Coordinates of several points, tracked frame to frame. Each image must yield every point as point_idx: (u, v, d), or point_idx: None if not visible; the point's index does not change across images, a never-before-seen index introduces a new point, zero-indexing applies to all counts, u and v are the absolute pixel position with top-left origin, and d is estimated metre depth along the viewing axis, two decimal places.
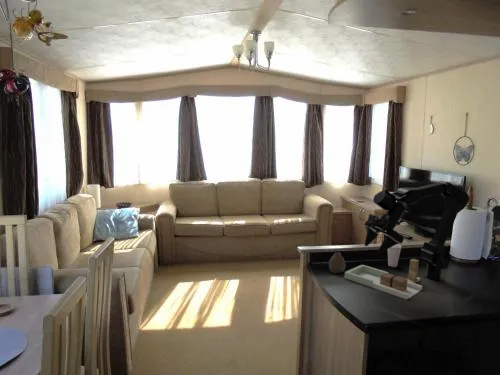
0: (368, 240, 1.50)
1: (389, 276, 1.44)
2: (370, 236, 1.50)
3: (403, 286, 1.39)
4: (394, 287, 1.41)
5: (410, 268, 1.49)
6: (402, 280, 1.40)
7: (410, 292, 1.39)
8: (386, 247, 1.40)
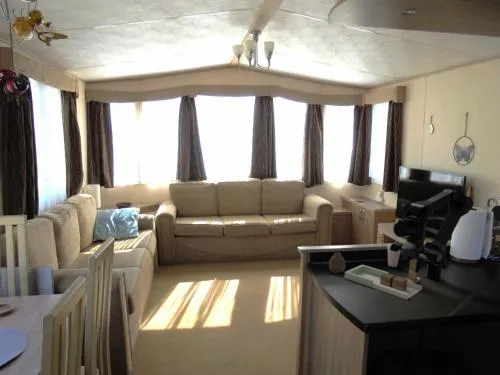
0: None
1: (389, 276, 1.44)
2: (409, 260, 1.50)
3: (403, 286, 1.39)
4: (394, 287, 1.41)
5: (410, 268, 1.49)
6: (402, 280, 1.40)
7: (410, 292, 1.39)
8: (421, 265, 1.48)
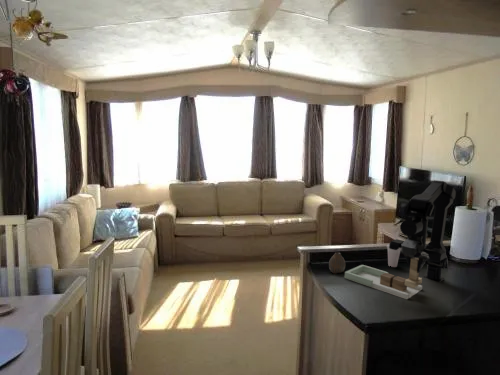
0: None
1: (389, 276, 1.44)
2: (410, 258, 1.38)
3: (403, 286, 1.39)
4: (394, 287, 1.41)
5: (411, 267, 1.37)
6: (402, 280, 1.40)
7: (410, 292, 1.39)
8: (423, 264, 1.36)
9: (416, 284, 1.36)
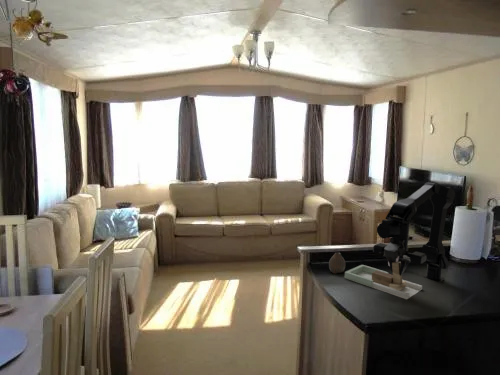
0: None
1: (380, 273, 1.46)
2: None
3: (391, 282, 1.43)
4: (383, 283, 1.45)
5: (393, 271, 1.42)
6: (391, 276, 1.43)
7: (410, 292, 1.39)
8: (405, 267, 1.40)
9: (400, 287, 1.40)
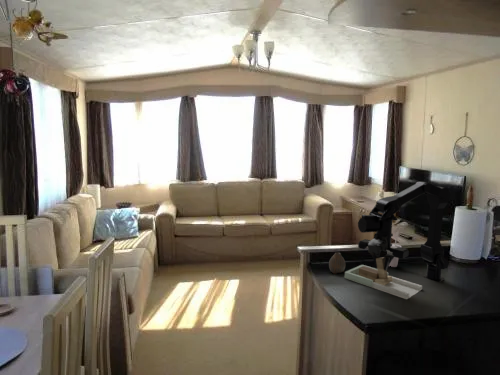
0: None
1: (367, 269, 1.51)
2: (376, 257, 1.48)
3: (377, 278, 1.47)
4: None
5: (378, 267, 1.46)
6: (376, 272, 1.48)
7: (410, 292, 1.39)
8: (389, 262, 1.45)
9: (386, 281, 1.44)
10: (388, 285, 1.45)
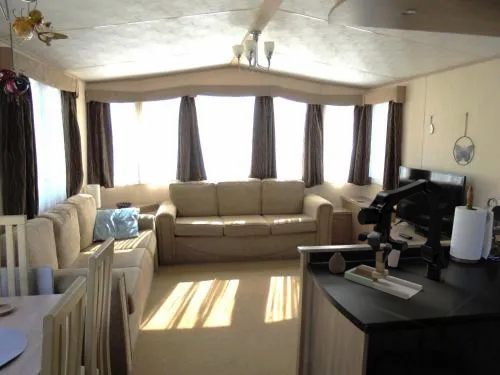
0: None
1: (364, 268, 1.52)
2: (376, 249, 1.47)
3: None
4: None
5: (377, 260, 1.46)
6: None
7: (410, 292, 1.39)
8: (388, 255, 1.45)
9: (382, 275, 1.45)
10: (388, 285, 1.45)
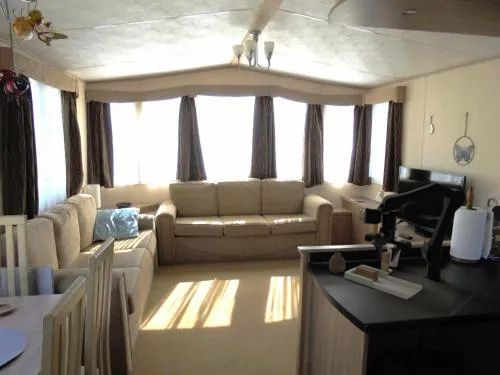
0: (380, 253, 1.60)
1: (364, 268, 1.52)
2: (379, 248, 1.60)
3: (374, 277, 1.48)
4: None
5: (382, 260, 1.58)
6: (373, 271, 1.49)
7: (410, 292, 1.39)
8: (395, 254, 1.55)
9: None
10: (388, 285, 1.45)
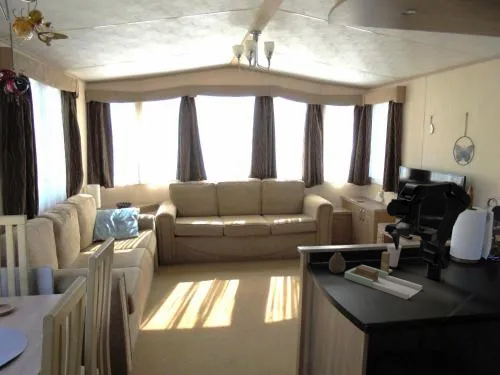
0: (397, 244, 1.51)
1: (364, 268, 1.52)
2: (396, 239, 1.51)
3: (374, 277, 1.48)
4: None
5: (382, 260, 1.58)
6: (373, 271, 1.49)
7: (410, 292, 1.39)
8: (424, 247, 1.45)
9: None
10: (388, 285, 1.45)
